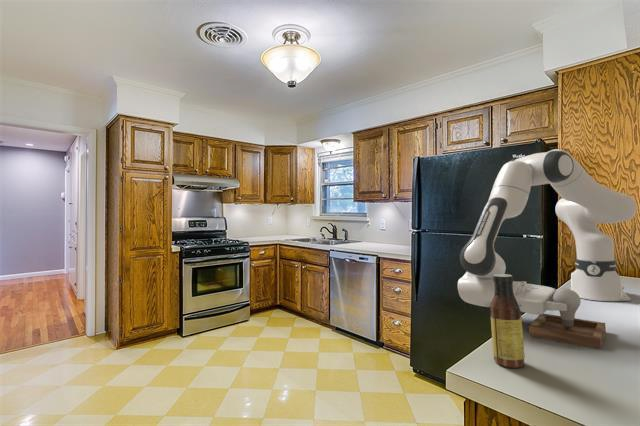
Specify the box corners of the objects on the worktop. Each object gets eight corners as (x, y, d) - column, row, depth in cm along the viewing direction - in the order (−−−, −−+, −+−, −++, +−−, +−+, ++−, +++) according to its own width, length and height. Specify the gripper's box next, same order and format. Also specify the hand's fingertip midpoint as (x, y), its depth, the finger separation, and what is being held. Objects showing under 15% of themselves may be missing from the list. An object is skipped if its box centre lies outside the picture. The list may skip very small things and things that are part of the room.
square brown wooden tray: (541, 321, 103) (541, 313, 103) (605, 332, 92) (605, 322, 92) (529, 335, 92) (528, 326, 92) (600, 349, 81) (599, 338, 81)
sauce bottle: (531, 366, 74) (528, 276, 74) (509, 371, 72) (505, 278, 72) (507, 355, 80) (504, 271, 80) (485, 359, 78) (482, 274, 78)
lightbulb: (586, 332, 90) (584, 292, 89) (561, 332, 91) (559, 292, 90) (574, 323, 96) (572, 285, 95) (550, 323, 97) (548, 286, 96)
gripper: (502, 292, 94) (562, 300, 84) (521, 280, 108) (575, 285, 99) (503, 315, 94) (563, 325, 84) (522, 299, 108) (576, 306, 99)
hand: (570, 303), depth 91 cm, fingers open, 8 cm apart
